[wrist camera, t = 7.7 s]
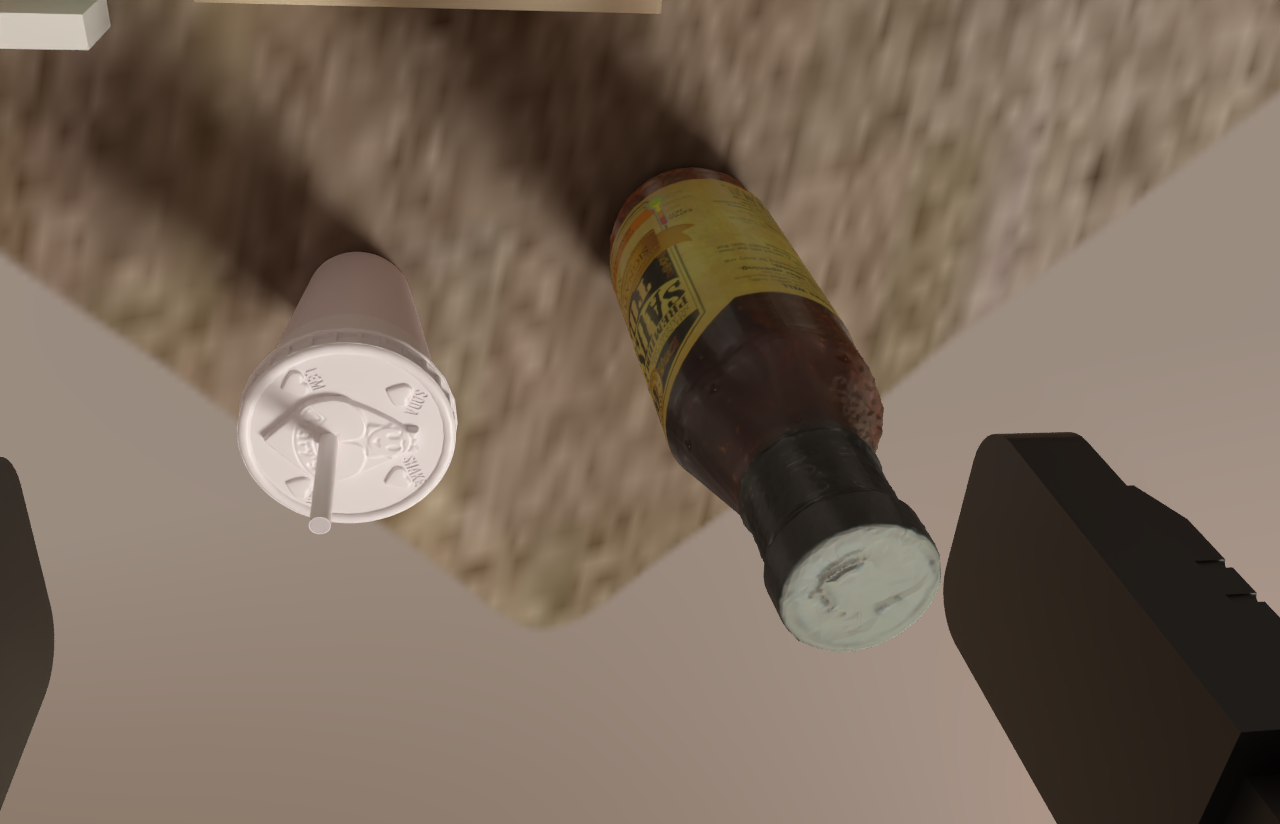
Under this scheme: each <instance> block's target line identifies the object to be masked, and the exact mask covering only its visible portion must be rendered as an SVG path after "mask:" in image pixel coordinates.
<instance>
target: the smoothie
mask: <svg viewBox="0 0 1280 824" xmlns="http://www.w3.org/2000/svg"><path fill="white" fill-rule="evenodd" d="M457 424H458V422H457V414H456V405H455V399H454V397H453V395H452V392H451V390H450V388H449V385H448V383H447V381H446V379H445V377H444V376H443V375H442V373H441V372H440V371H439V370H438V369H437V367H436V366H435V365H434V364H433V363H432V360H431V357H430V353H429V350H428V347H427V344H426V340H425V337H424V334H423V331H422V328H421V324H420V321H419V318H418V315H417V311H416V308H415V305H414V302H413V298H412V295H411V292H410V289H409V286H408V283H407V281H406V279H405V277H404V276H403V274H402V273H401V272H400V270H399V269H398V268H397V267H396V266H395V265H393V264H392V263H391V262H389V261H388V260H386V259H384V258H382V257H380V256H378V255H375V254H371V253H366V252H348V253H343V254H339V255H337V256H334V257H332V258H330V259H329V260H327V261H325V262H324V263H323V264H322V265H321V266H320V267H319V268H318V269H317V270H316V271H315V273H314V274H313V276H312V278H311V280H310V282H309V284H308V286H307V288H306V290H305V292H304V294H303V295H302V297H301V299H300V301H299V303H298V305H297V307H296V309H295V311H294V313H293V315H292V317H291V319H290V321H289V323H288V325H287V327H286V329H285V331H284V333H283V335H282V337H281V339H280V341H279V343H278V345H277V347H276V349H275V350H274V351H272V352H271V353H269V354H268V355H267V356H266V357H265V358H264V360H263V361H262V362H261V363H260V364H259V365H258V366H257V368H256V369H255V370H254V371H253V372H252V373H251V375H250V377H249V379H248V382H247V384H246V386H245V388H244V391H243V393H242V395H241V398H240V409H239V417H238V424H237V438H238V445H239V449H240V453H241V456H242V459H243V461H244V464H245V465H246V467H247V469H248V471H249V473H250V474H251V476H252V477H253V479H254V480H255V481H256V482H257V484H258V485H259V486H260V487H261V488H262V489H263V490H264V491H265V492H266V493H267V494H268V495H269V496H271V497H272V498H273V499H274V500H276V501H277V502H279V503H280V504H282V505H284V506H285V507H287V508H289V509H291V510H293V511H295V512H297V513H299V514H302V515H305V516H308V517H310V521H309V528H310V530H311V531H312V532H314V533H316V534H324V533H326V532H328V531H329V529H330V527H331V522H337V523H360V522H369V521H374V520H379V519H383V518H386V517H390V516H392V515H395V514H397V513H400V512H402V511H404V510H406V509H408V508H410V507H411V506H413V505H415V504H416V503H418V502H419V501H420V500H422V499H423V498H424V497H425V496H427V495H428V494H429V493H430V492H431V491H432V490H433V489H434V488H435V487H436V486H437V484H438V483H439V482H440V480H441V479H442V478H443V476H444V474H445V473H446V471H447V469H448V467H449V465H450V462H451V460H452V457H453V453H454V449H455V441H456V430H457Z"/></svg>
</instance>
